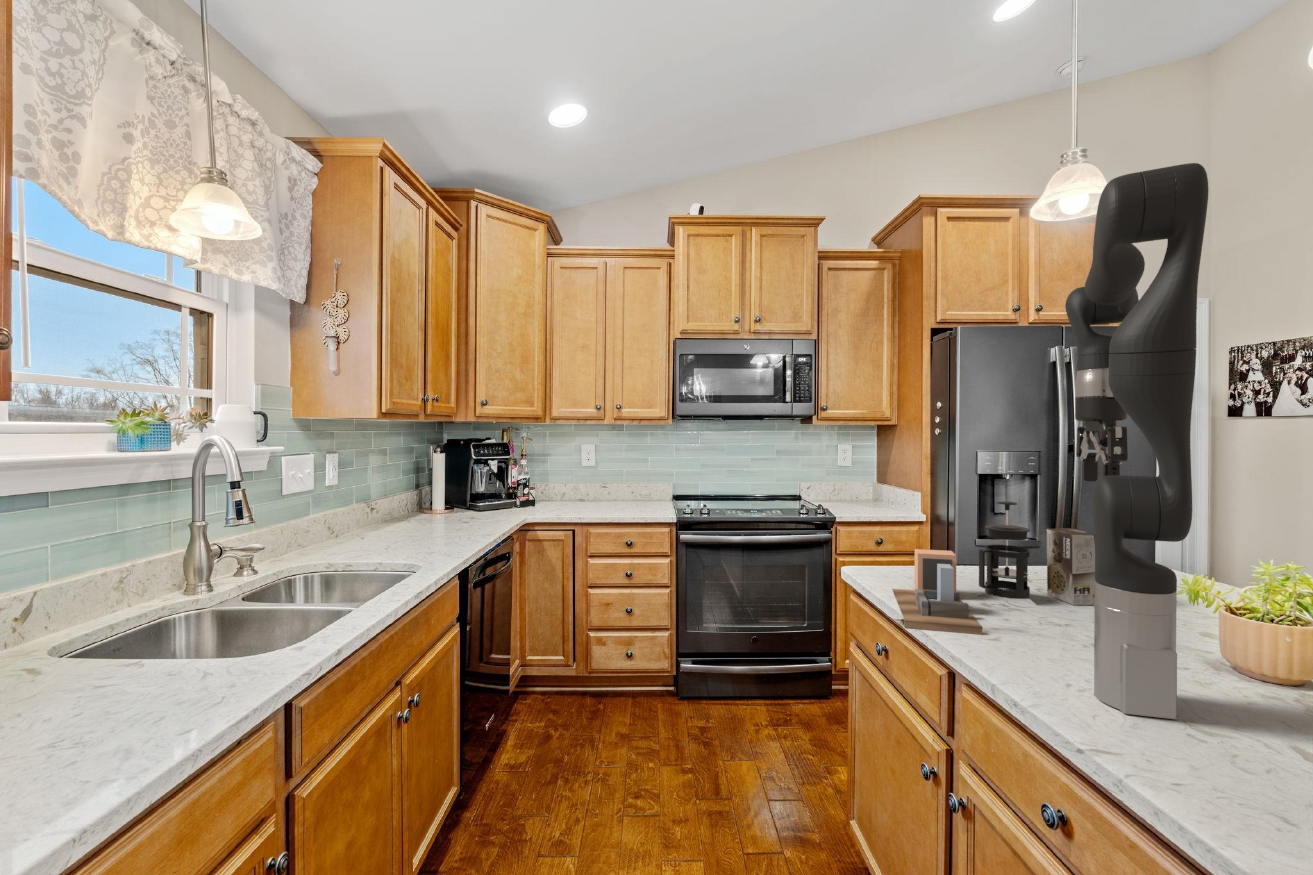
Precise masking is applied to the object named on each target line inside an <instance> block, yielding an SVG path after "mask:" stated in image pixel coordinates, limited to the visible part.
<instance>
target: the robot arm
mask: <svg viewBox="0 0 1313 875" xmlns="http://www.w3.org/2000/svg"><path fill="white" fill-rule="evenodd" d="M1208 203H1209V178H1208V173H1207V171H1206V169H1205V167H1204V166H1203V165H1202V164H1201V163H1198V162H1189V163H1182V164H1177V165H1172V166H1165V167H1160V168H1154V169H1148V170H1143V171H1139V172H1138V171H1137V172H1131V173H1126V174H1124V175H1120V176H1116V177H1114V178H1112V179H1111V180H1110V181H1109V182H1107V183H1106V185H1105V186H1104V188H1103V190H1102V191H1101V195H1100V196H1099V200H1098V203H1097V204H1098V205H1097V209H1096V217H1095V224H1094V225H1095V226H1094V233H1093V234H1094V235H1093V245H1092V263H1091V266H1090V269H1089V271H1088V274H1087V278H1086V280H1085V282H1084V283H1085V284H1084V286H1081V287H1080V286H1079V287H1076V288H1075V289H1073V290H1072V291H1071V292H1070V293H1069V294H1068V295H1067V298H1066V300H1065V305H1064V306H1065V312H1066V316H1067V318H1068V322H1069V324H1070V327H1071V329H1072V332H1073V335H1074V340H1075V344H1076V357H1077V358H1076V360H1077V361H1076V378H1075V383H1074V384H1075V385H1074V388H1075V391H1074V392H1075V394H1074V395H1075V396H1074V397H1075V398H1074V400H1075V401H1074V402H1075V403H1074V404H1075V406H1074V410H1075V411H1074V415H1075V416H1074V419H1075V420H1076V421H1077V422H1085V426H1077V429H1076V452H1075V453H1076V457H1077V458H1080V461H1081V463H1082V466H1081V469H1082V471H1081V472H1082V476H1081V477H1082V480H1083V481H1085V482H1094V486H1093V490H1092V514H1093V529H1094V530H1093V533H1095V600H1094V605H1093V606H1094V616H1093V618H1094V619H1093V620H1094V621H1093V622H1094V623H1093V624H1094V626H1093V627H1094V628H1093V633H1094V634H1093V638H1094V639H1093V640H1094V642H1093V645H1094V646H1093V649H1094V650H1093V655H1094V656H1093V672H1094V675H1093V694H1094V696H1095V697H1096V698H1097V699H1098V700H1099V701H1101V702H1102V703H1104V704H1106V705H1108V706H1110V707H1112V708H1114V709H1118V710H1119V711H1121V713H1123V714H1125V715H1133V716H1143V717H1151V718H1152V717H1153V718H1161V719H1169V720H1177V714H1178V713H1177V712H1178V706H1177V705H1178V703H1177V702H1178V653H1177V612H1178V610H1177V605H1178V604H1177V603H1178V602H1177V601H1178V600H1177V593H1178V580H1177V575H1176V573H1175V572H1174V570H1172V569H1171V568H1169V567H1167V566H1165V565H1162V564H1160V563H1157V562H1154V561H1152V560H1149V559H1145V558H1143V557H1140V556H1139V555H1136V554H1135V553H1133V552H1132V551H1130V550H1128V549H1127V548H1126V547H1125V546H1124V544H1123V541H1124V540H1125V539H1126V540H1136V541H1138V540H1141V541H1154V542H1168V543H1169V542H1172V543H1174V542H1175V543H1178V542H1182V541H1184V540H1185V539H1186V538H1187V537H1188V535H1189V533H1190V531H1191V528H1192V527H1191V526H1192V518H1193V485H1192V454H1191V428H1192V427H1191V425H1192V412H1193V411H1192V410H1193V400H1194V391H1195V390H1194V389H1195V381H1196V379H1195V378H1196V367H1197V366H1196V364H1197V318H1198V317H1197V315H1198V314H1197V313H1198V312H1197V311H1198V310H1197V308H1198V307H1197V306H1198V287H1199V286H1198V283H1199V275H1200V274H1199V273H1200V266H1201V257H1202V251H1203V250H1202V249H1203V243H1204V235H1205V228H1206V221H1207V214H1208V213H1207V211H1208ZM1161 240H1167V245H1166V250H1165V254H1164V257H1163V261H1162V262H1161V266H1160V267H1159V269H1158V272H1157V274H1156V275H1155V277H1154V279H1153V280H1152V282H1151V283H1150V285H1149V286H1148V288H1147V289H1146V291H1145V292H1144V293H1143V295H1142V296H1141V297H1140V298H1139V295H1138V294H1139V293H1138V291H1137V286H1138V284H1139V283H1140V281H1141V279H1142V277H1143V275H1144V272H1145V265H1146V262H1145V258H1144V256H1143V253H1142V252H1141V251H1140V250H1139V248H1138V247H1137V246H1136V245H1134V244H1139V243H1143V242H1144V243H1145V242H1154V241H1161ZM1119 323H1120V324H1119ZM1105 324H1119V325H1118V327H1117V328H1116V329H1115V331H1114V332H1113V335H1107V334H1106V335H1105V334H1100V333H1097V332H1095V331H1094V330H1093V328H1092V327H1091V326H1094V325H1105ZM1128 416H1129V418H1130V419H1131V420H1132V422H1133V423H1134V424H1135V425H1136V426H1137V428H1139V430H1140V431H1141V432H1142V434H1143V436H1144V438H1145V439H1146V440H1147V442H1148V443H1149V445H1150V447H1151V448H1152V450H1153V453H1154V455H1155V458H1156V460H1157V466H1158V475H1157V476H1150V475H1149V476H1147V475H1146V476H1144V475H1143V476H1142V475H1141V476H1140V475H1121V474H1120V470H1121V469H1120V468H1121V467H1120V465H1122V464H1123V462H1127V461H1128V456H1129V454H1128V453H1129V452H1128V428H1127V426H1117V421H1125V420H1127V418H1128ZM1099 457H1101V460H1102V463H1103V464H1102V476H1100V477H1098V471H1099V468H1098V465H1099V463H1098V460H1099ZM1123 539H1124V540H1123Z"/></svg>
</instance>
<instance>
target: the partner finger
mask: <svg viewBox="0 0 1313 875" xmlns="http://www.w3.org/2000/svg"><path fill="white" fill-rule="evenodd" d="M937 564H950V565H951V566H952V567H953V568H954V592H957V555H956V554H955V553H954V551H953V550H943V549H942V550H939V549H925V548H923V549H921V548H914V590H915V589H921V590H922V592H923V593H924V590H937Z"/></svg>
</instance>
